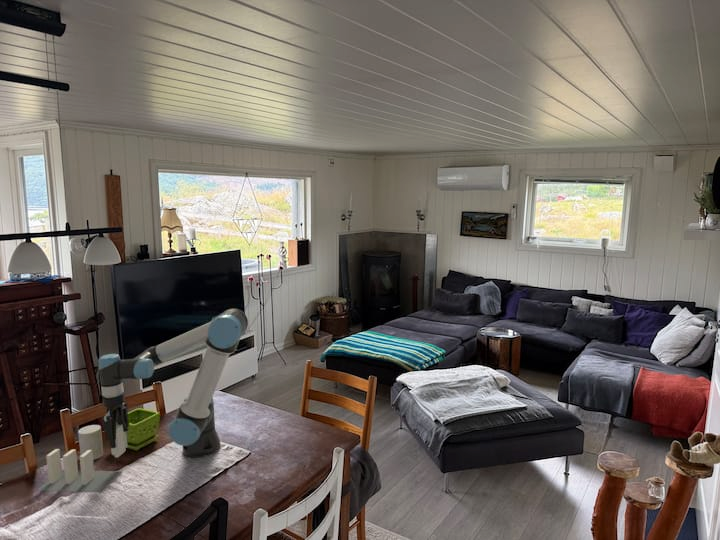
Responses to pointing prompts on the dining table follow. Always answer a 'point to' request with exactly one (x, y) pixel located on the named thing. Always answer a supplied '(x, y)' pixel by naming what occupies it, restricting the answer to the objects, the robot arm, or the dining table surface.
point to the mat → (94, 485)
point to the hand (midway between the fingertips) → (119, 450)
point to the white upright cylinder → (91, 440)
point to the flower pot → (142, 428)
